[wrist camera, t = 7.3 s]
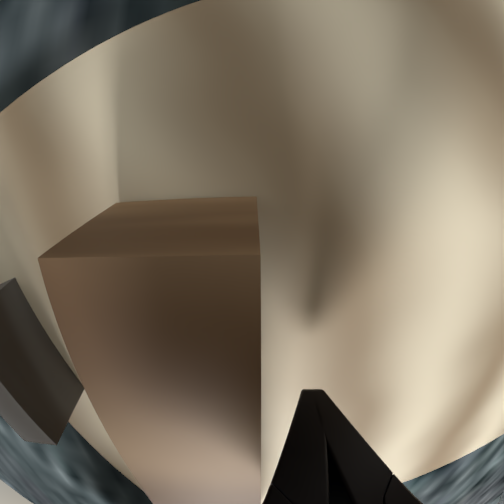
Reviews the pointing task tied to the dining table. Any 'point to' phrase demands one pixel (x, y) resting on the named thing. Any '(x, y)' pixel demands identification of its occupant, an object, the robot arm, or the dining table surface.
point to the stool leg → (169, 340)
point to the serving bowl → (501, 499)
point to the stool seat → (288, 207)
